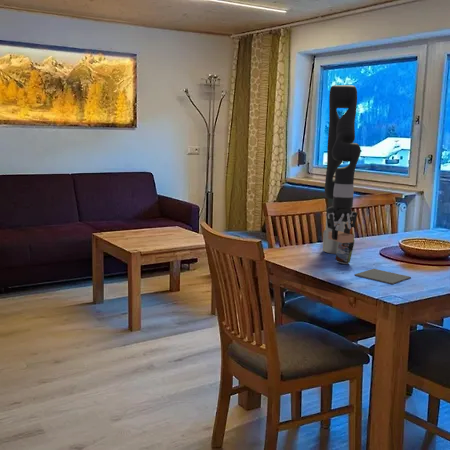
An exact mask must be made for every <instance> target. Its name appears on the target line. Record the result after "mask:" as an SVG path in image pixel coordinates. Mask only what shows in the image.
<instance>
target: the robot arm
mask: <svg viewBox="0 0 450 450" xmlns="http://www.w3.org/2000/svg"><path fill="white" fill-rule="evenodd" d="M328 102H329V103H328V104H329V106H328V107H329V109H328V111H329V113H328V114H329V115H328V117H329V119H328V122H329V123H328V135H327V146H326V148H327V150H326V151H327V154H326V155H327V156H326V157H327V158H326V160H327V161H326V173H325V174H326V175H325V182H324V196H325V198H326V199H327V200H332V205H331V206H328V207H327V208H326V214H325V215H326V216H325V220H326V221H325V229H324V230H323V234H322V235H323V236H322V252H325V253H328V254H333V255H336V254H337V249H338V245H339V242H337V241H334V240H337V236H338V231H341V232H344V233H348V234H351V229H352V228H354V227H355V225H356V221H357V217H358V212H356V211H352V208H353V207H354V195H355V194H354V182H355V181H354V180H355V172H356V167H357V165H358V161H359V159H360V156H361V151H362V150H361V149H362V148H361V146H360V144H358V143H357V142H355V140H356V129H355V124H356V123H355V122H356V115H357V105H358V89H357V87H356V85H349V84H347V85H346V84H345V85H344V84H343V85H342V84H340V85H337V84H336V85H331V86H330V89H329V98H328ZM337 109H347V110H346V111H345V112H344V113H343V115H341V117H340V116H339V114H338V110H337ZM343 162H347V163H348V162H349V164H347V165H346V166H341V164H343ZM340 166H341V167H340ZM330 231H332V239H333V240H331V239H328V232H330Z"/></svg>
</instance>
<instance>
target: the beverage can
mask: <svg viewBox="0 0 450 450" xmlns="http://www.w3.org/2000/svg"><path fill="white" fill-rule="evenodd" d="M354 244H355V238H354V236H353V242H351V243H340V242H339V245H338V249H337V254H335V260H336V262H337V263H340V264H342V265H347V264H349V263H351V260H352V259H351V258H352V253H353V249H354Z"/></svg>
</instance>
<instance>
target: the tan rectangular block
mask: <svg viewBox="0 0 450 450" xmlns="http://www.w3.org/2000/svg"><path fill="white" fill-rule="evenodd" d="M353 237H354V234H351V233H350V234H348V233H344V232H341V231H338V236H337V240H334V241H337V242H340V243H351V242H353ZM328 239H331V240H333V239H332V231H330V232H328Z"/></svg>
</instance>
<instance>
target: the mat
mask: <svg viewBox="0 0 450 450" xmlns="http://www.w3.org/2000/svg"><path fill="white" fill-rule="evenodd" d="M354 276H355V277H359V278H363V279H368V280H371V281H377V282H380V283H385V284H388V285H395V284H399V283H402V282H404V281H407V280H409V279H412V277H411V276H408V275H404V274H399V273H395V272H390V271H386V270H381V269H377V268H372V269H371V268H370V269H368V270H365V271H361V272H358V273H355V274H354Z"/></svg>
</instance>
